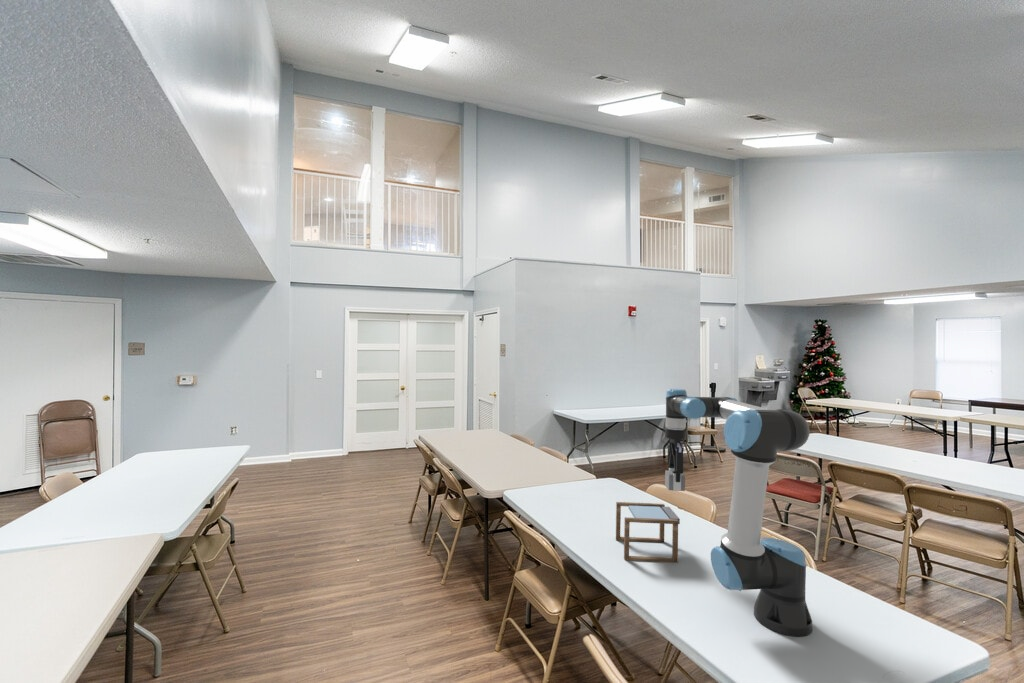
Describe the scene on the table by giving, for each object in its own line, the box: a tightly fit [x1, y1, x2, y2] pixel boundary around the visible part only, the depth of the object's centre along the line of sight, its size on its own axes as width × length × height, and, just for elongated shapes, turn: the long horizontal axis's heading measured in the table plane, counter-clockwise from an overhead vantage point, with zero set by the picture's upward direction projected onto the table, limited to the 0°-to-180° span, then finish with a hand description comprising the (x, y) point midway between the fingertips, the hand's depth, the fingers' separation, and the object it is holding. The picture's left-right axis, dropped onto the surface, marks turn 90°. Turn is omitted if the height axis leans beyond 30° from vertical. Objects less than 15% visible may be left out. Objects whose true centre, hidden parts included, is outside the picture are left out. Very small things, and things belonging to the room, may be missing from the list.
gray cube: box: [664, 470, 686, 492], centre depth 178 cm, size 6×6×6 cm
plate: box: [628, 505, 681, 525], centre depth 185 cm, size 16×17×2 cm
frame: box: [615, 501, 679, 563], centre depth 185 cm, size 20×20×16 cm
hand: (674, 487), depth 178 cm, fingers closed on gray cube, 6 cm apart
